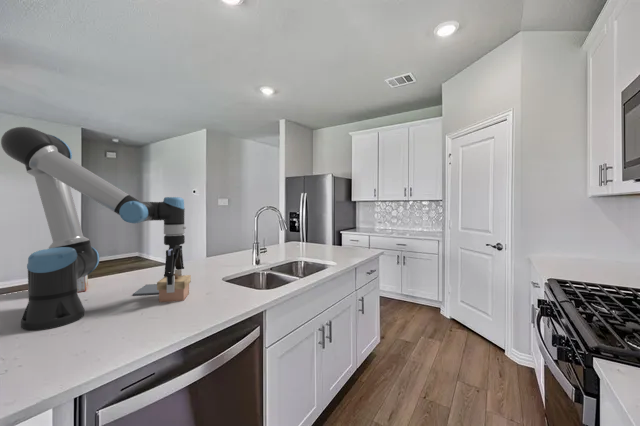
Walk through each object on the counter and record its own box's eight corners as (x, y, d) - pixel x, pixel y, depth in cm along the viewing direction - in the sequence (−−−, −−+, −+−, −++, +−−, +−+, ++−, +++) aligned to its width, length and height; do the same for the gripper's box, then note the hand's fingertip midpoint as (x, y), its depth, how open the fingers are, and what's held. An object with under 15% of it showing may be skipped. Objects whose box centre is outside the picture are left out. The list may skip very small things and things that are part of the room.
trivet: (132, 295, 118) (132, 293, 118) (146, 286, 132) (146, 284, 132) (169, 293, 121) (169, 292, 121) (178, 284, 135) (178, 283, 134)
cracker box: (71, 286, 131) (70, 241, 130) (88, 284, 134) (87, 240, 134) (67, 294, 119) (66, 245, 119) (86, 291, 123) (85, 244, 122)
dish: (159, 302, 110) (158, 289, 110) (166, 294, 119) (166, 283, 119) (183, 300, 112) (183, 288, 112) (189, 293, 121) (189, 282, 121)
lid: (157, 290, 110) (157, 277, 110) (165, 283, 119) (165, 271, 119) (184, 288, 112) (184, 276, 112) (190, 281, 122) (190, 271, 121)
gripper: (176, 237, 105) (176, 296, 105) (190, 231, 127) (191, 280, 127) (154, 238, 103) (154, 297, 104) (172, 232, 125) (173, 281, 126)
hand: (174, 288), depth 116 cm, fingers closed on lid, 10 cm apart
